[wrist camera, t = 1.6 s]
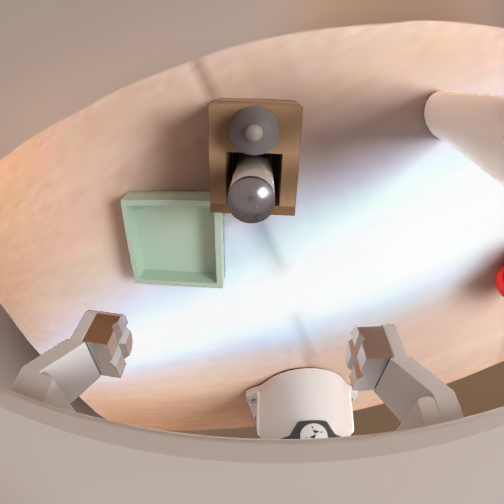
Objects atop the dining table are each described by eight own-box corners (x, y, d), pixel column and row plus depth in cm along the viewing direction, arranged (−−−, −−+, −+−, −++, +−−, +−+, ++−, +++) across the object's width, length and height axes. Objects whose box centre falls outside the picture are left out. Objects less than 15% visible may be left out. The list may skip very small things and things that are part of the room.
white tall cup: (419, 149, 29) (507, 209, 16) (410, 84, 25) (508, 107, 13) (470, 141, 28) (563, 195, 15) (464, 81, 24) (567, 107, 11)
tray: (224, 275, 38) (222, 288, 35) (141, 270, 38) (135, 282, 36) (223, 191, 32) (220, 201, 30) (129, 191, 32) (120, 200, 30)
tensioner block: (289, 190, 32) (296, 225, 25) (219, 187, 32) (206, 222, 25) (295, 101, 27) (305, 109, 21) (219, 98, 27) (204, 106, 21)
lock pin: (271, 176, 31) (273, 224, 22) (238, 174, 31) (227, 222, 22) (272, 144, 30) (276, 179, 21) (238, 143, 30) (226, 178, 21)
